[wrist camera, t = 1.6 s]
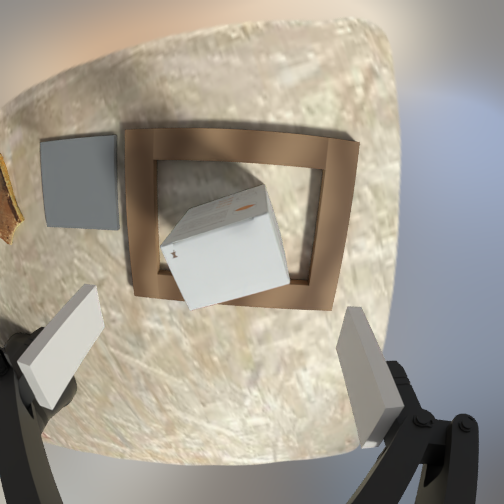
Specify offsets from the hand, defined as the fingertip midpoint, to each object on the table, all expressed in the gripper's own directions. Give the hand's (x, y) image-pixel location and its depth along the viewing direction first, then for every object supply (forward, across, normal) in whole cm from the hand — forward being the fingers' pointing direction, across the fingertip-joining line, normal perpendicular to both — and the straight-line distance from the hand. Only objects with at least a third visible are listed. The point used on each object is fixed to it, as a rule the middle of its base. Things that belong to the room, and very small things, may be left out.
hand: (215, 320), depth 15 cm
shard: (+17, -32, +1) cm, 37 cm away
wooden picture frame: (+17, 0, 0) cm, 17 cm away
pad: (+17, -18, +3) cm, 25 cm away
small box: (+17, 0, 0) cm, 17 cm away
